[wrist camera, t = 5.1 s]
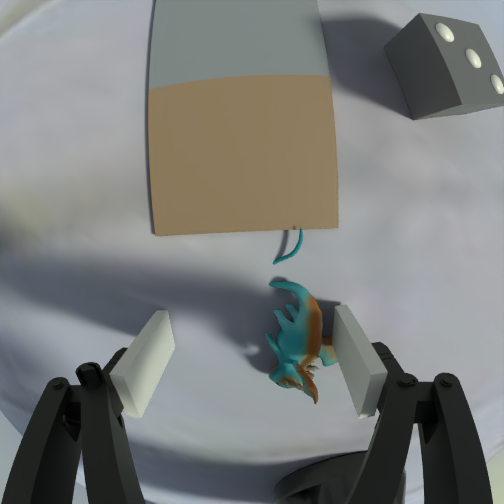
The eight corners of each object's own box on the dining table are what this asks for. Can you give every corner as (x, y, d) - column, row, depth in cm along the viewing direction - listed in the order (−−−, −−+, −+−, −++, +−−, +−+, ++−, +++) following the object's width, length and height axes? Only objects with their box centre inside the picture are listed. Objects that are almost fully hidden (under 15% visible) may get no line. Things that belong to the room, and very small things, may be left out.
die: (464, 114, 12) (513, 103, 7) (412, 120, 13) (463, 104, 8) (438, 49, 11) (479, 24, 6) (382, 48, 12) (419, 12, 7)
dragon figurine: (182, 307, 15) (255, 421, 14) (267, 232, 11) (367, 390, 10) (248, 280, 21) (304, 369, 19) (322, 222, 17) (390, 329, 15)
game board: (336, 227, 15) (338, 228, 14) (157, 235, 15) (155, 236, 15) (294, -75, 8) (294, -77, 8) (170, -64, 9) (169, -66, 8)
